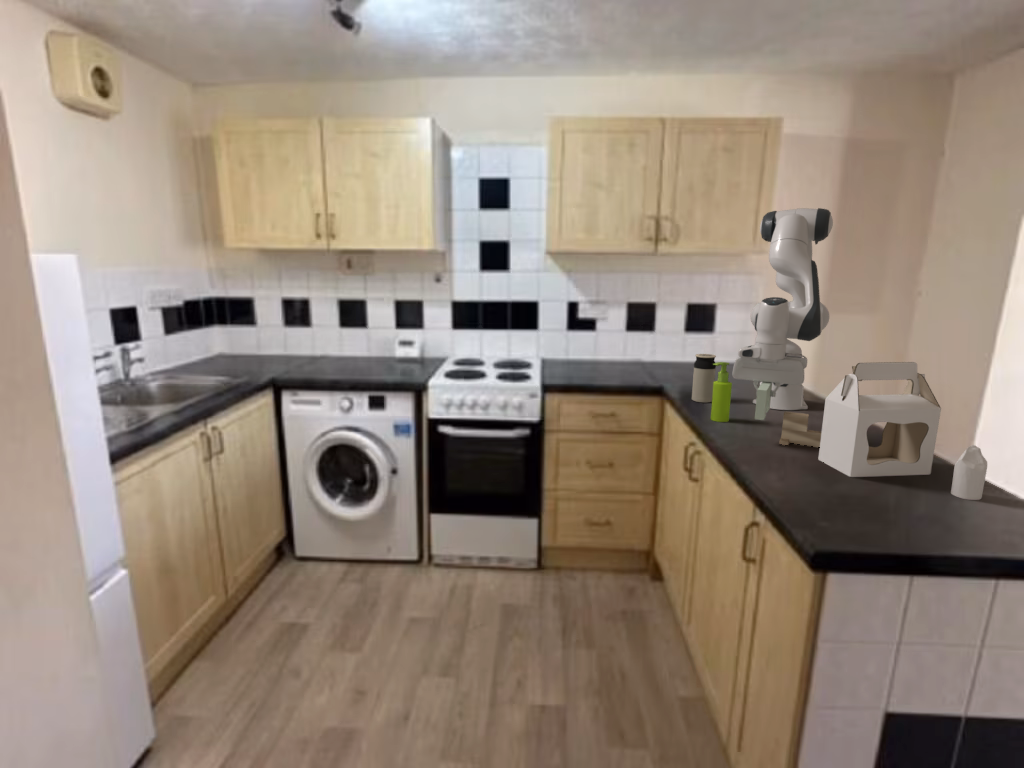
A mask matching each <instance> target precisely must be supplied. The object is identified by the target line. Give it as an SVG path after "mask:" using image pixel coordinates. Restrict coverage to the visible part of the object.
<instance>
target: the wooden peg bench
mask: <svg viewBox="0 0 1024 768" xmlns="http://www.w3.org/2000/svg"><path fill="white" fill-rule="evenodd" d="M809 416H810V415H809V413H802V412H792V411H787V410H784V412H783V417H782V426H781V436H780V438H779V443H778V445H779V444H782V445H781V446H785V445H788V446H789V444H790V443H794V444H793V445H797V444H800V445H799V446H804V445H807V446H806V447H811V446H813V448H818V447H820V441H821V433H822V431H821V430H820V431H819V430H811V429H808V425H809Z"/></svg>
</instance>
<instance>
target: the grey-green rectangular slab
mask: <svg viewBox="0 0 1024 768" xmlns="http://www.w3.org/2000/svg"><path fill="white" fill-rule="evenodd" d="M761 382H762V381H761ZM758 386H759V388H758V389H757V390H756V391H757V395H756V398H755V399H756V404H755V410H754V411H755V414H754V420H760V421H765V419H766V417H767V413H769V411H770V409H771V408H770V400H771V397H770V391H771V390H772V382H762V383H761V385H760V384H759V385H758Z"/></svg>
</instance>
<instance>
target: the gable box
mask: <svg viewBox="0 0 1024 768" xmlns="http://www.w3.org/2000/svg"><path fill="white" fill-rule="evenodd" d="M851 369H852V373H849V374H847V375H845V376H844V378H843V379H842V380H841V381H840V382H839V383H838V384H837V385H836V386H835V388H834V389H832V391H831V392H830V393H829V394H828V396H826V398H824V399H825V401H824V410H823V418H822V425H821V432H822V433H821V441H820V448H819V451H818V457H817V458H818V459H817V460H818V461H819V462H822V463H823V462H824V463H823V464H826V465H827V466H829V467H831V468H832V469H835V470H837V471H838V472H840V473H842V474H844V475H845V476H847V477H849V478H864V477H865V478H866V477H867V478H870V477H895V476H896V477H897V476H898V477H899V476H903V477H904V476H923V475H924V476H925V475H926V476H927V475H928V476H929V475H930V476H931V473H932V466H933V460H934V454H935V449H936V448H935V447H936V442H937V438H938V437H937V435H938V430H939V424H940V417H941V411H942V407H941V406H940V404H939V402H938V400H937V398H936V396H935V395H934V393H933V391H932V389H931V387H930V385H929V384H928V382H927V380H926V374H925V373H919V372H918V363H917V362H914V361H896V362H895V361H892V362H891V361H889V362H887V361H886V362H880V361H879V362H858V363H857V364H856V365H854V366H853V365H852V366H851ZM898 380H901V381H902V380H904V381H907V383H906V385H905V387H904V390H903V392H902V394H900V393H899V394H860V393H859V392H860V391H859V382H862V381H898ZM876 423H877V424H878V423H886V424H885V426H884V428H883V430H882V433H881V434H882V435H881V438H882V439H881V443H880V444H879V445H878V446H875V447H874V446H869V441H868V436H867V435H868V434H867V431H868V429H869V428H870V426H872V425H874V424H876Z"/></svg>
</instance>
